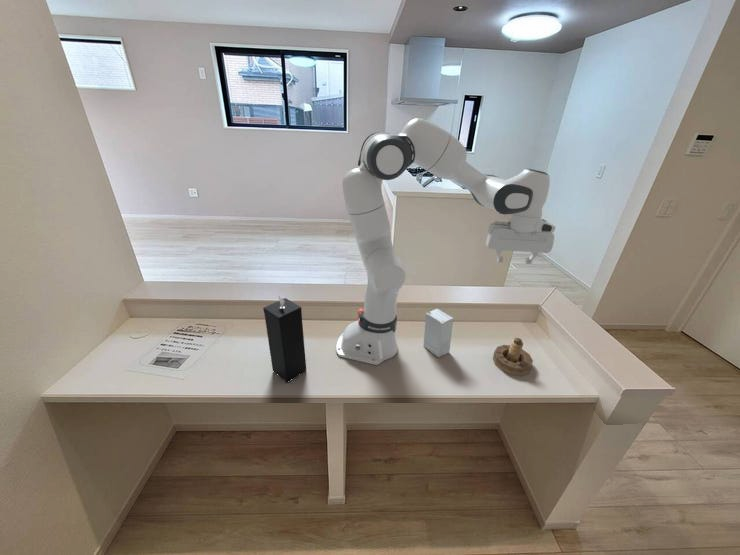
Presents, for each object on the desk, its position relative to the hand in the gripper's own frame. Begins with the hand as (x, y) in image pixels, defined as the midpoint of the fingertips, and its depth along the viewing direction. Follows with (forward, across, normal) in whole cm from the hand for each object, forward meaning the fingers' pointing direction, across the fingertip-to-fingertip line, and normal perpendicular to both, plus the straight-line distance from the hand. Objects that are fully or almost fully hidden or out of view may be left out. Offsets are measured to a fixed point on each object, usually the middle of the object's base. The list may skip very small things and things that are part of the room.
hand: (513, 262), depth 105 cm
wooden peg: (+33, +3, -12) cm, 35 cm away
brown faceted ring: (+33, +3, -12) cm, 35 cm away
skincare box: (+33, -23, -8) cm, 41 cm away
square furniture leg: (+34, -72, -26) cm, 83 cm away
